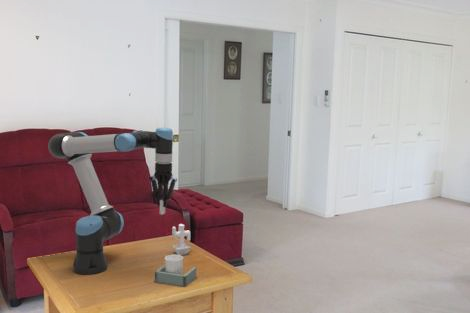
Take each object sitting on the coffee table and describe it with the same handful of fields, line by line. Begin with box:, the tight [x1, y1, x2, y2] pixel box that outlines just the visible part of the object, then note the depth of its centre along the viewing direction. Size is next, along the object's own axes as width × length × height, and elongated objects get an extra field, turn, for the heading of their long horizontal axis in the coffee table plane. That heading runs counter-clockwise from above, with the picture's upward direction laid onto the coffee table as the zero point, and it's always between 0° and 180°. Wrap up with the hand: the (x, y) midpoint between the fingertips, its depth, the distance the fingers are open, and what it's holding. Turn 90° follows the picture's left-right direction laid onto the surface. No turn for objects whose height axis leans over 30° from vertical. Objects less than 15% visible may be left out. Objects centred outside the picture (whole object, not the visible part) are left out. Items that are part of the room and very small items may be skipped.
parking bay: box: [154, 264, 197, 288], centre depth 206 cm, size 14×11×4 cm
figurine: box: [171, 223, 192, 256], centre depth 239 cm, size 7×9×15 cm
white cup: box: [164, 254, 184, 275], centre depth 205 cm, size 8×8×10 cm
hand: (162, 213), depth 217 cm, fingers closed
